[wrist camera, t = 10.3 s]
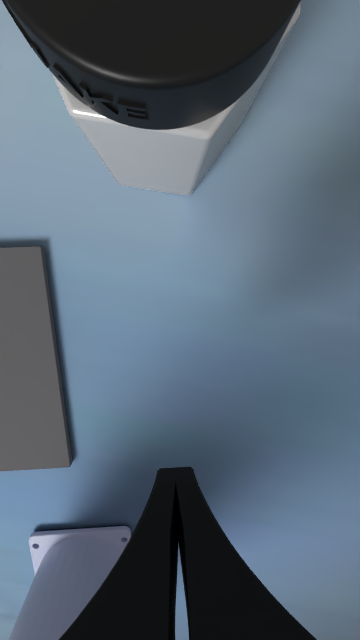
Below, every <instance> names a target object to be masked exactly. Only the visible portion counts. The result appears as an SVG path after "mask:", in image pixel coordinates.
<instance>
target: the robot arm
mask: <svg viewBox="0 0 360 640" xmlns="http://www.w3.org/2000/svg"><path fill="white" fill-rule="evenodd" d="M178 540H179V549H180V557H181V565H182V573H183V582H184V590H185V598H186V607H187V616H188V627H189V640H317V639H316V638H315V637H313V636H312V635H311V634H310V633H309V632H308V631H307V630H306V629H305V628H304V627H303V626H302V625H301V624H300V623H299V622H298V621H297V620H296V619H295V618H294V617H293V616H292V615H291V614H290V613H289V612H288V611H287V610H286V609H285V608H284V607H283V606H282V605H281V604H280V603H279V602H278V601H277V600H276V598H275V597H274V596H273V595H272V594H271V593H270V592H269V591H268V590H267V588H266V587H265V586H264V585H263V584H262V582H261V581H260V580H259V579H258V578H257V577H256V575H255V574H254V573H253V572H252V571H251V570H250V568H249V567H248V566H247V564H246V563H245V562H244V560H243V559H242V558H241V556H240V555H239V554H238V552H237V551H236V550H235V548H234V547H233V545H232V544H231V543H230V541H229V540H228V538H227V537H226V535H225V533H224V532H223V530H222V529H221V527H220V525H219V524H218V522H217V520H216V519H215V517H214V515H213V513H212V512H211V510H210V508H209V506H208V504H207V502H206V500H205V498H204V496H203V494H202V492H201V490H200V487H199V485H198V483H197V480H196V477H195V474H194V470H193V469H192V468H191V467H178V468H162V469H159V470H158V471H157V476H156V479H155V483H154V486H153V489H152V492H151V494H150V497H149V499H148V502H147V504H146V506H145V509H144V511H143V513H142V516H141V518H140V520H139V522H138V524H137V526H136V528H135V530H134V532H133V534H132V536H131V530H130V528H129V527H127V526H116V527H101V528H85V529H70V530H55V531H40V532H33V533H32V534H31V536H30V538H29V545H30V550H31V556H32V561H33V567H34V573H35V577H34V580H33V582H32V585H31V587H30V589H29V592H28V594H27V597H26V599H25V601H24V604H23V606H22V608H21V611H20V613H19V616H18V618H17V620H16V623H15V625H14V628H13V630H12V632H11V635H10V637H9V640H175V606H176V584H177V562H178Z"/></svg>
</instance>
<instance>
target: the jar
mask: <svg viewBox="0 0 360 640" xmlns="http://www.w3.org/2000/svg"><path fill="white" fill-rule="evenodd" d="M2 1H3V3H4V5H5V6H6V8H7V10H8V12H9V13H10V15H11V16H12V18H13V19H14V22H15V23H16V25H17V26H18V28H19V29H20V31H21V32H22V34H23V35H24V37H25V38H26V40H27V42H28V43H29V45H30V46H31V48H33V50H34V51H35V53H36V54H37V55H38V57H39V58H40V60H41V61H42V62H43V63H44V65H45V66H46V67H47V68H49V70H50V71H51V73H52V76H53V78H54V80H55V82H56V85H57V87H58V89H59V92H60V94H61V96H62V99H63V101H64V103H65V105H66V108H67V110H68V112H69V114H70V115H71V117H72V118H73V120H74V121H75V123H76V124H77V125H78V127H79V128H80V130H81V131H82V133H83V134H84V136H85V137H86V139H87V140H88V141H89V143H90V144H91V146H92V147H93V149H94V150H95V152H96V153H97V155H98V156H99V157H100V159H101V160H102V162H103V163H104V165H105V166H106V168H107V169H108V171H109V172H110V173H111V175H112V176H113V178H114V179H115V181H116V182H117V183H118V184H119V185H121V186H127V187H134V188H141V189H147V190H154V191H160V192H166V193H173V194H179V195H185V196H189V195H191V194H192V193H193V191H194V190H195V189H196V187H197V186H198V185H199V183H200V182H201V180H202V179H203V178H204V176H205V175H206V174H207V172H208V171H209V170H210V168H211V167H212V166H213V164H214V163H215V161H216V160H217V159H218V157H219V156H220V155H221V153H222V152H223V151H224V149H225V148H226V146H227V145H228V144H229V142H230V141H231V140H232V138H233V137H234V135H235V134H236V132H237V130H238V128H239V126H240V124H241V123H242V121H243V119H244V117H245V115H246V113H247V112H248V110H249V108H250V106H251V104H252V102H253V101H254V99H255V97H256V95H257V93H258V91H259V89H260V88H261V86H262V84H263V82H264V80H265V78H266V77H267V75H268V73H269V71H270V69H271V67H272V66H273V64H274V62H275V60H276V58H277V56H278V55H279V53H280V51H281V49H282V47H283V45H284V44H285V42H286V40H287V38H288V36H289V34H290V33H291V31H292V29H293V27H294V25H295V23H296V22H297V20H298V18H299V16H300V12H301V4H300V1H301V0H2Z"/></svg>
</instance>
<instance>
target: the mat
mask: <svg viewBox="0 0 360 640" xmlns="http://www.w3.org/2000/svg"><path fill="white" fill-rule="evenodd" d="M72 462H73V461H72V454H71V446H70V439H69V431H68V423H67V416H66V408H65V401H64V393H63V386H62V378H61V370H60V363H59V355H58V348H57V340H56V333H55V325H54V318H53V310H52V302H51V295H50V287H49V280H48V272H47V265H46V257H45V249H44V247H42V246H36V247H8V248H0V471H12V470H29V469H46V468H63V467H70V466H71V464H72Z"/></svg>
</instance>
